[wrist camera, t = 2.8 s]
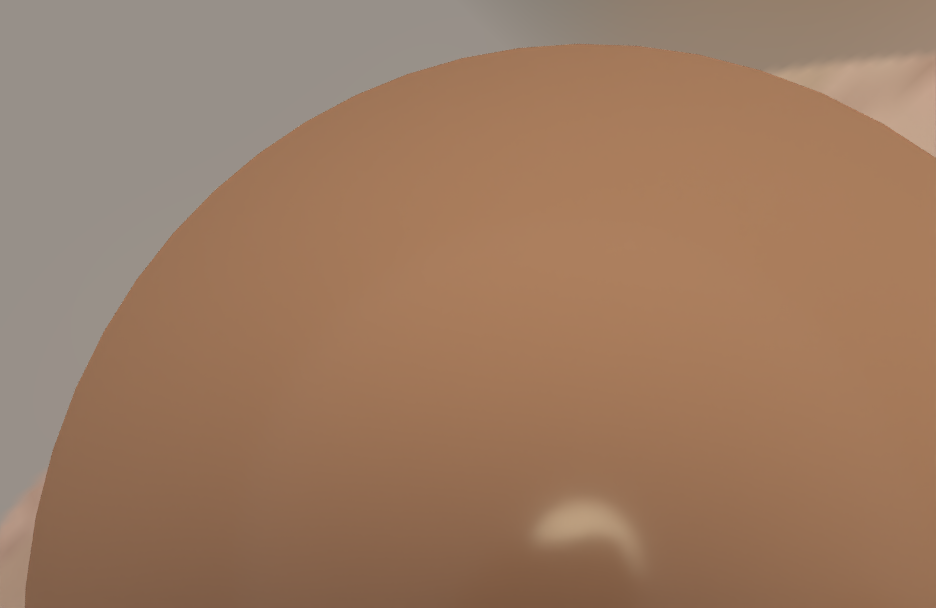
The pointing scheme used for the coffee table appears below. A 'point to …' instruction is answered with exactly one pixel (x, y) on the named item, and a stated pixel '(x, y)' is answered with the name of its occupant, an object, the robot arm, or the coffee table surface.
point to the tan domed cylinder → (523, 358)
